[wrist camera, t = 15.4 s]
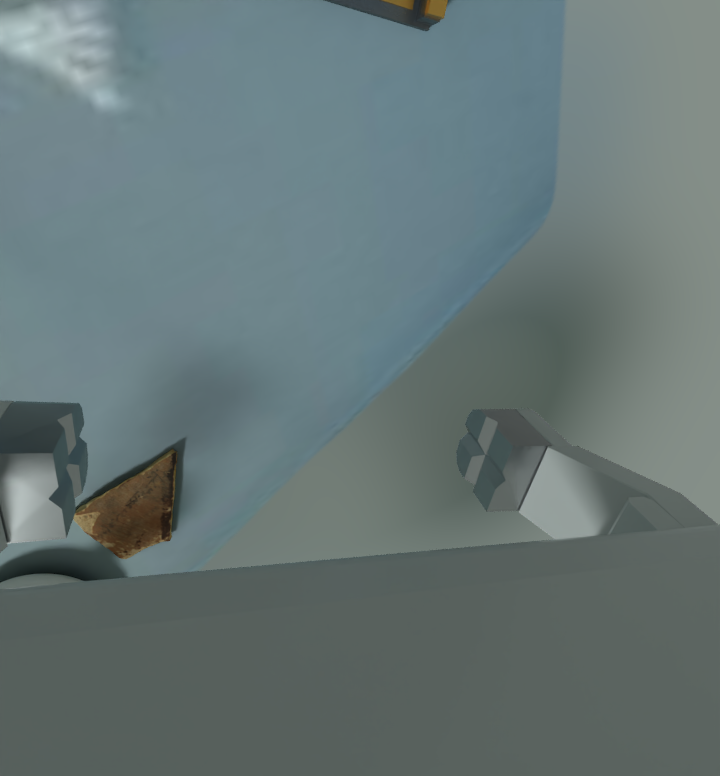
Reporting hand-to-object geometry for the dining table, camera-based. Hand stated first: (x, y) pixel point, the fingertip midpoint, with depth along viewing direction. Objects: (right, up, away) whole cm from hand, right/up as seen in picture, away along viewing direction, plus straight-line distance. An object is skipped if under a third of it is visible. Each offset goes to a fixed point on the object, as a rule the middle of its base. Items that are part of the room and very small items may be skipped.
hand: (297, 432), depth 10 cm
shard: (-19, -8, +31) cm, 37 cm away
